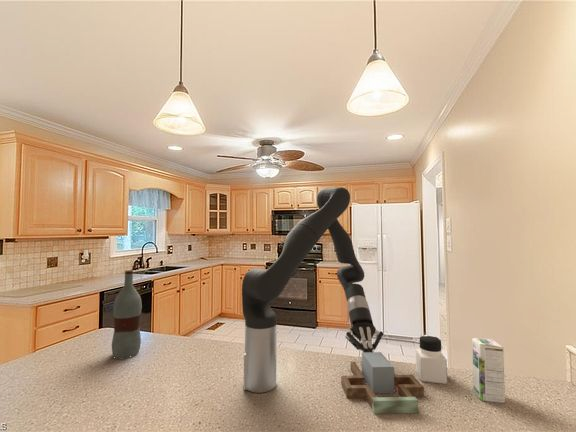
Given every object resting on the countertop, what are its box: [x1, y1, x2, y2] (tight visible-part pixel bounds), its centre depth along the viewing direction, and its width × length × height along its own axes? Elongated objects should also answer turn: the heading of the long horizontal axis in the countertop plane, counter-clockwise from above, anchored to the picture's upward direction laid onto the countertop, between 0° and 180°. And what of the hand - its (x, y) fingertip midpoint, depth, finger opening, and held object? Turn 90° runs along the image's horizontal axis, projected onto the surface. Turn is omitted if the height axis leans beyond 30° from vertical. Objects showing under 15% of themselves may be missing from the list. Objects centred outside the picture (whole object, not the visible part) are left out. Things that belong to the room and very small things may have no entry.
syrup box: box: [471, 337, 506, 404], centre depth 79 cm, size 6×6×14 cm
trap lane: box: [340, 361, 425, 415], centre depth 83 cm, size 21×23×3 cm
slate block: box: [361, 351, 395, 394], centre depth 86 cm, size 6×10×7 cm, turn 3°
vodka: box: [111, 269, 143, 359], centre depth 107 cm, size 9×9×30 cm
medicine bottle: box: [415, 334, 448, 385], centre depth 90 cm, size 7×7×12 cm
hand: (370, 362), depth 91 cm, fingers closed
